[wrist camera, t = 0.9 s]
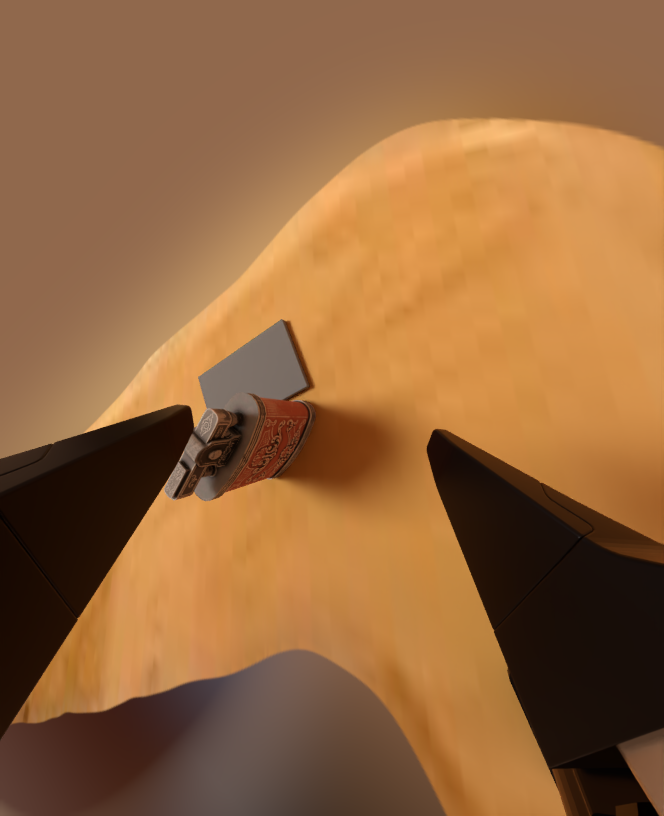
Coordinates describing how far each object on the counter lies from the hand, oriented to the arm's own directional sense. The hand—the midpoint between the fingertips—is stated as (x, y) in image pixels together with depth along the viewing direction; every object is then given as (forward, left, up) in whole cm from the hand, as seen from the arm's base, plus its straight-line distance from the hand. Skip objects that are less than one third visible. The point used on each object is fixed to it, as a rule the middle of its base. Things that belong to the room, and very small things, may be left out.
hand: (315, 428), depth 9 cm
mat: (+9, +11, -11) cm, 18 cm away
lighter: (+2, +9, -11) cm, 14 cm away
